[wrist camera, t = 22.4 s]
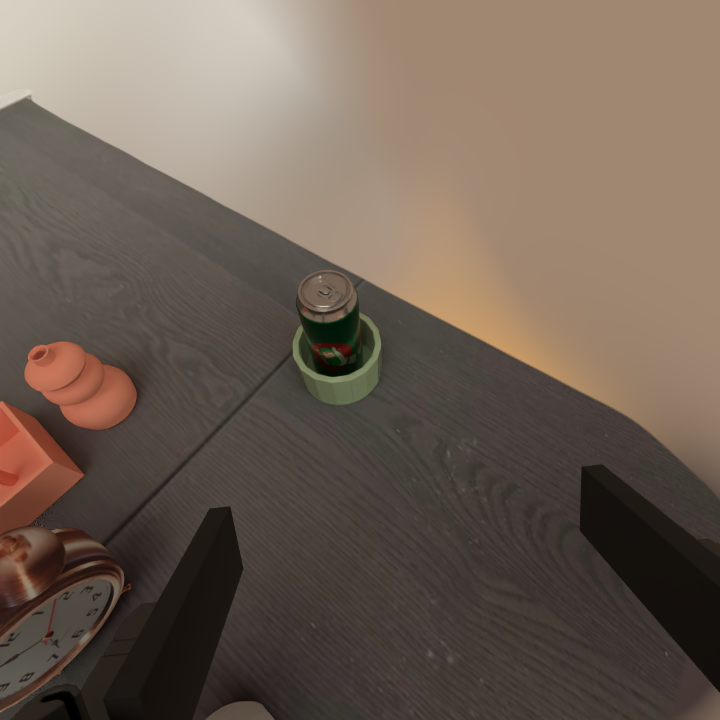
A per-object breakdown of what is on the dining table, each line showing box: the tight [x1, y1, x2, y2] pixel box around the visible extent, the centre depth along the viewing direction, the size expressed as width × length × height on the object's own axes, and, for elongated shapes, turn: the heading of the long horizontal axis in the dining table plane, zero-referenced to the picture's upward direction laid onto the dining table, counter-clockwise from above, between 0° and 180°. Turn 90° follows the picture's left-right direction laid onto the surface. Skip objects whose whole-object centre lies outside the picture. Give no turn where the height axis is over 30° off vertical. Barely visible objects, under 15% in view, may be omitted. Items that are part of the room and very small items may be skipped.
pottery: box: [0, 341, 137, 535], centre depth 35 cm, size 18×10×10 cm, turn 141°
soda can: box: [296, 270, 363, 377], centre depth 37 cm, size 5×5×12 cm
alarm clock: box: [0, 526, 132, 712], centre depth 25 cm, size 11×5×15 cm, turn 146°
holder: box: [292, 312, 382, 405], centre depth 40 cm, size 8×8×5 cm
